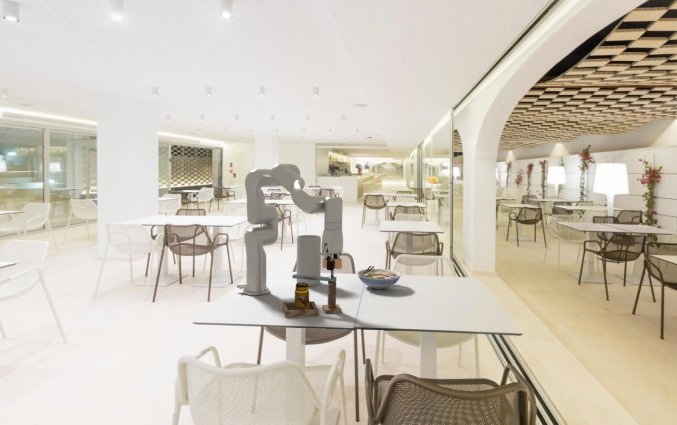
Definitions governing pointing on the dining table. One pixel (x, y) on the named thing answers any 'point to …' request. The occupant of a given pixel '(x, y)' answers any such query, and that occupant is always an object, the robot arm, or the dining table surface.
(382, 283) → the ramen bowl
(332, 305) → the frame
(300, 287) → the condiment
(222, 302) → the dining table surface
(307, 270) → the cylinder vase
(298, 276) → the t key
